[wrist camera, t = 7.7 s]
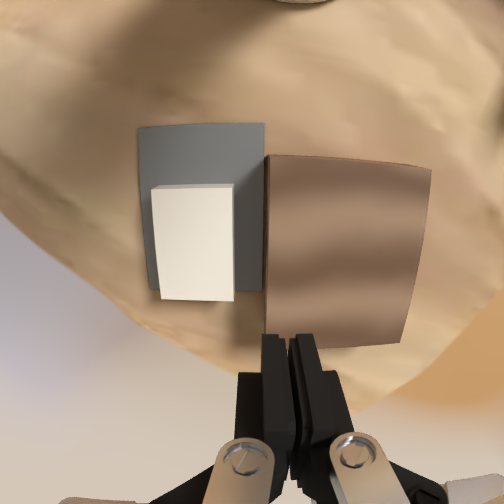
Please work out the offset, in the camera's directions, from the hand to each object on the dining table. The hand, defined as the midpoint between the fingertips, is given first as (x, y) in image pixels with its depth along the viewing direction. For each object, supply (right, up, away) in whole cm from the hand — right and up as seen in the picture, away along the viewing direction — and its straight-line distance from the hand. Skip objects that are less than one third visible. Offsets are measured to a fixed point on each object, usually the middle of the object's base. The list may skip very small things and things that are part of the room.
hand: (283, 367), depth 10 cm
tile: (-6, +4, +13) cm, 15 cm away
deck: (+6, +4, +16) cm, 18 cm away
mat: (-5, +7, +15) cm, 17 cm away
